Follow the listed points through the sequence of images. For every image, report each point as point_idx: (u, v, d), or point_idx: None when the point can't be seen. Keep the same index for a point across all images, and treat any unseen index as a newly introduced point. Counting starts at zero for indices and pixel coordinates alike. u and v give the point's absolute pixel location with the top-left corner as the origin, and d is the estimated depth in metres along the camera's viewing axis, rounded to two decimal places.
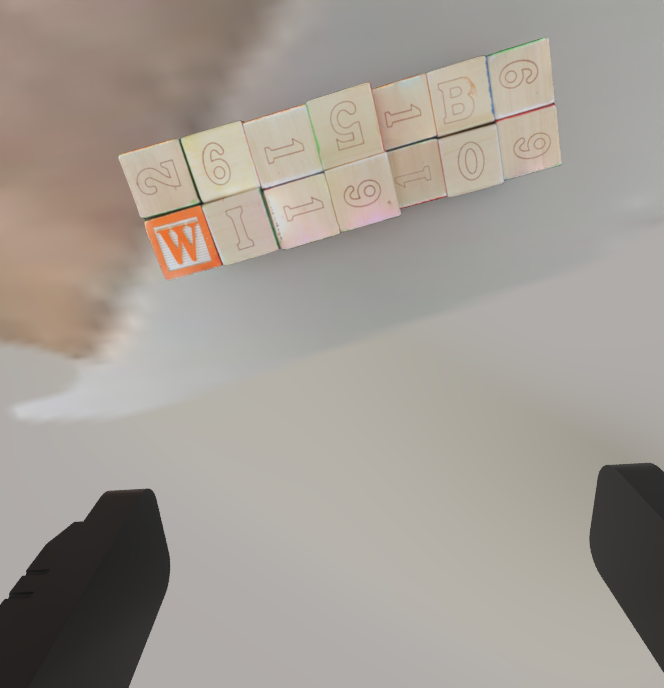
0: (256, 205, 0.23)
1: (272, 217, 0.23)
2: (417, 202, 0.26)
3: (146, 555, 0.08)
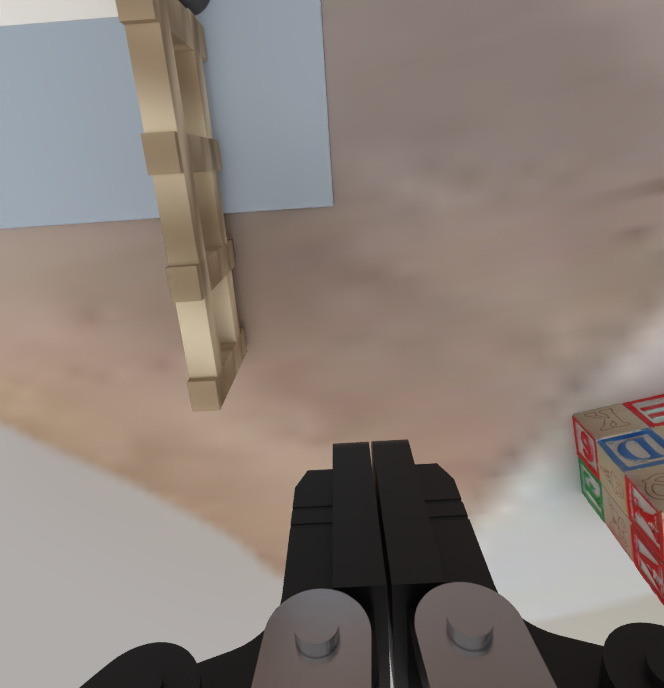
0: None
1: None
2: None
3: None
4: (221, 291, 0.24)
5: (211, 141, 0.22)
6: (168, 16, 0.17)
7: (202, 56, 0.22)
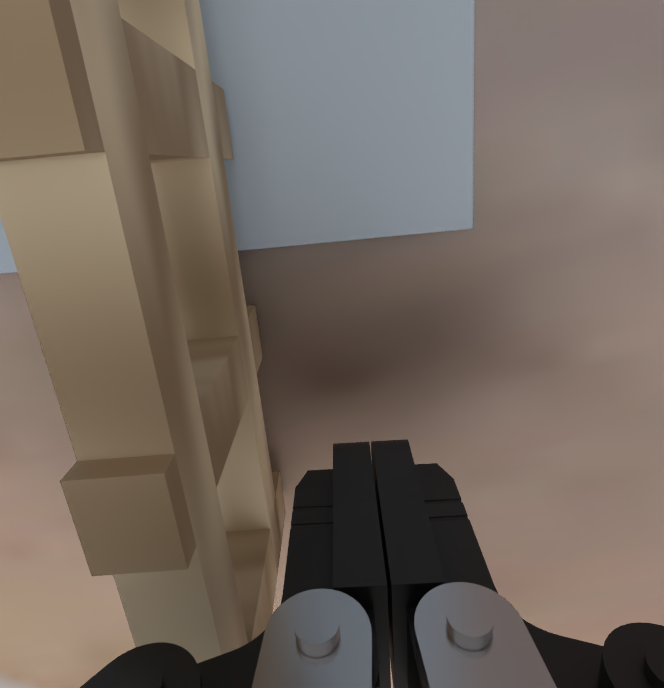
0: None
1: None
2: None
3: None
4: (238, 430, 0.11)
5: (207, 85, 0.09)
6: None
7: None
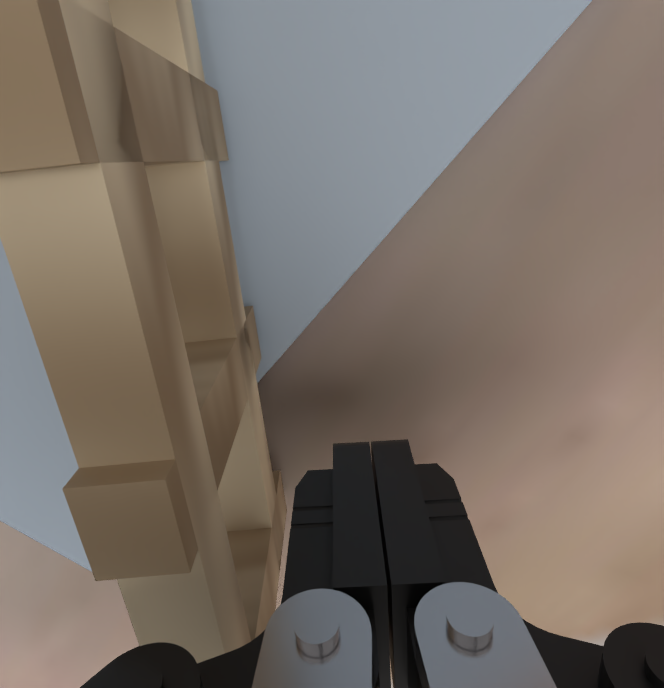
0: None
1: None
2: None
3: None
4: (238, 431, 0.11)
5: (201, 87, 0.09)
6: None
7: None
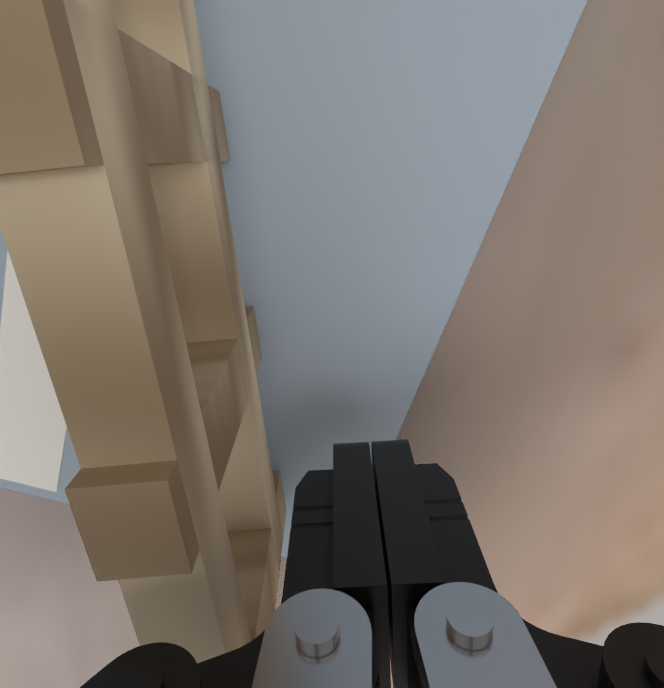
0: None
1: None
2: None
3: None
4: (238, 432, 0.11)
5: (204, 88, 0.09)
6: None
7: None
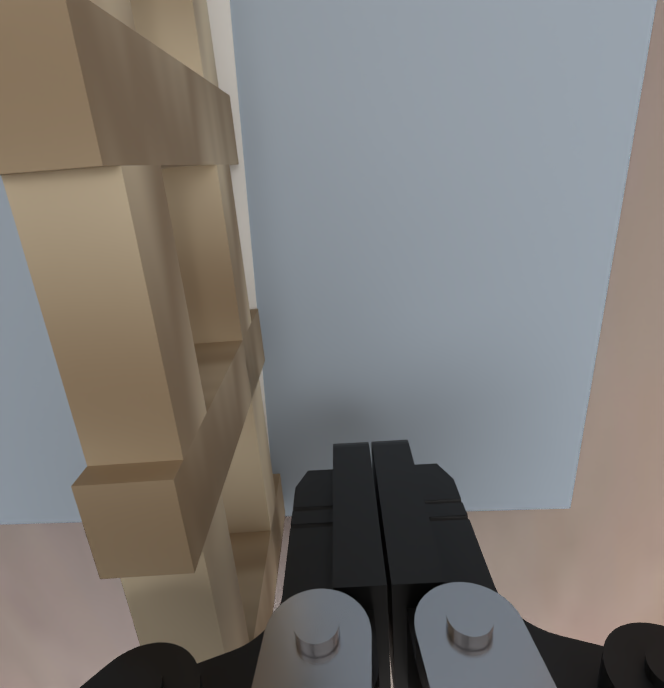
0: None
1: None
2: None
3: None
4: (241, 434, 0.11)
5: (215, 92, 0.09)
6: None
7: None
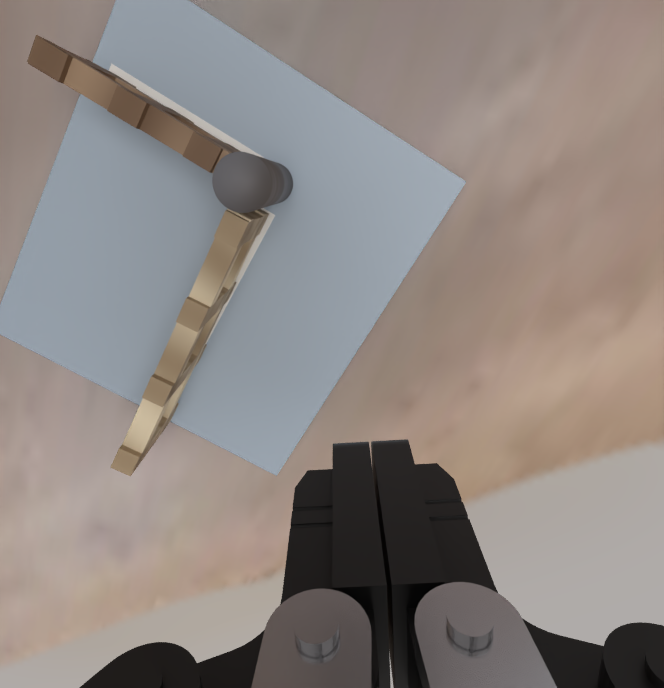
0: None
1: None
2: None
3: None
4: None
5: (230, 288, 0.30)
6: (246, 236, 0.25)
7: (257, 235, 0.29)
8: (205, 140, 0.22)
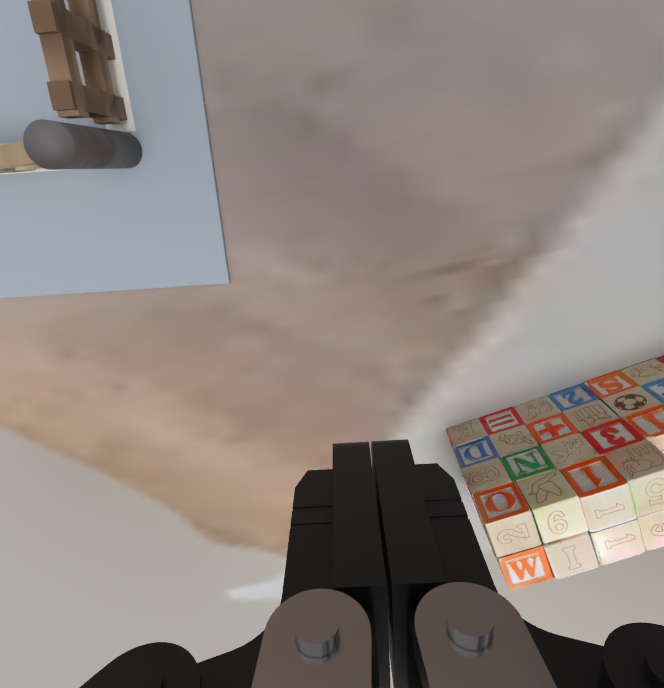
0: (585, 544, 0.32)
1: (595, 548, 0.32)
2: None
3: None
4: None
5: (21, 170, 0.33)
6: None
7: None
8: (69, 93, 0.26)
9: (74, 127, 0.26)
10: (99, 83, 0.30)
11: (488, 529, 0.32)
